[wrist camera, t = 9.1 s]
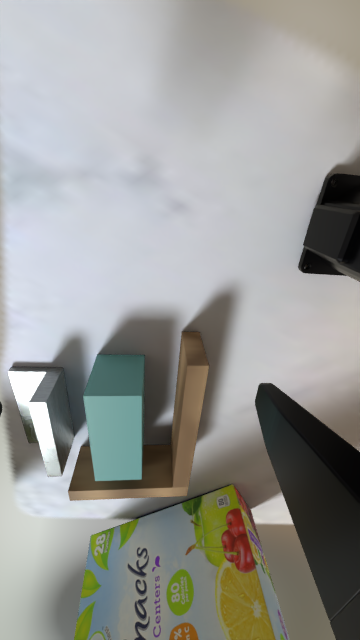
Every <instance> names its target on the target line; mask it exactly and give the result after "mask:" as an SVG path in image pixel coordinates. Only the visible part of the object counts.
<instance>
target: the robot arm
mask: <svg viewBox="0 0 360 640" xmlns="http://www.w3.org/2000/svg"><path fill="white" fill-rule="evenodd" d="M333 179H335V183H334V185H333V186H331V181H332V180H333ZM303 245H304V249H303V252H302V255H301V259H300V262H299V266H298V268H299V270H300V271H302V272H303V273H310V274H327V275H344V276H349V277H351V278H353V279H355V280H357V281H359V282H360V176H357V175H348V174H338V173H337V174H330V175H328V176H327V177H326V179H325V181H324V183H323V187H322V190H321V193H320V196H319V200H318V203H317V206H316V207H315V208H314V211H313V214H312V217H311V220H310V224H309V227H308V230H307V234H306V237H305V240H304V244H303ZM307 263H308V266H307V267H306V268H304V266H305V265H306V264H307ZM255 406H256V410H257V414H258V418H259V422H260V426H261V430H262V434H263V438H264V442H265V446H266V449H267V452H268V455H269V458H270V460H271V463H272V466H273V468H274V471H275V474H276V477H277V479H278V482H279V485H280V488H281V490H282V493H283V496H284V498H285V501H286V504H287V507H288V509H289V512H290V515H291V517H292V520H293V523H294V526H295V528H296V531H297V534H298V537H299V539H300V542H301V545H302V547H303V550H304V553H305V556H306V558H307V561H308V564H309V567H310V569H311V572H312V575H313V577H314V580H315V583H316V586H317V588H318V591H319V594H320V597H321V599H322V602H323V605H324V607H325V610H326V613H327V616H328V618H329V620H330V621H331V622H330V624H331V627H332V630H333V632H334V635H335V638H336V640H360V452H359V451H358V450H357V449H355V448H354V447H353V446H352V445H350V444H349V443H348V442H346V441H345V440H344V439H343V438H341V437H340V436H339V435H337V434H336V433H335V432H334V431H332V430H331V429H330V428H329V427H327V426H326V425H325V424H323V423H322V422H321V421H320V420H318V419H317V418H316V417H314V416H313V415H312V414H311V413H309V412H308V411H307V410H305V409H304V408H303V407H302V406H300V405H299V404H298V403H297V402H295V401H294V400H293V399H291V398H290V397H289V396H288V395H286V394H285V393H284V392H282V391H281V390H280V389H279V388H277V387H276V386H275V385H273V384H272V383H261V384H260V385H259V387H258V391H257V395H256V399H255ZM1 413H2V404H1V402H0V415H1Z"/></svg>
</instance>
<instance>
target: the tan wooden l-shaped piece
mask: <svg viewBox="0 0 360 640" xmlns="http://www.w3.org/2000/svg"><path fill="white" fill-rule="evenodd" d="M208 370H209V364H208V360H207V357H206V353H205V350H204V346H203V343H202V339H201V336H200V332H182V335H181V345H180V355H179V365H178V375H177V385H176V395H175V405H174V414H173V424H172V434H171V444H170V445H143V463H142V479H139V480H113V481H95V476H94V469H93V462H92V455H91V448H90V446H81V448H80V451H79V455H78V458H77V462H76V465H75V469H74V473H73V476H72V480H71V483H70V487H69V490H68V493H69V498H70V501H73V500H97V499H122V498H147V497H172V496H187V492H188V487H189V481H190V475H191V469H192V463H193V457H194V451H195V446H196V440H197V434H198V428H199V422H200V416H201V411H202V405H203V399H204V393H205V387H206V381H207V376H208Z"/></svg>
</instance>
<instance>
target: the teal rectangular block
mask: <svg viewBox="0 0 360 640" xmlns="http://www.w3.org/2000/svg"><path fill="white" fill-rule="evenodd" d="M144 377H145V355H100V354H97V357H96V360H95V363H94V366H93V369H92V372H91V375H90V377H89V380H88V383H87V386H86V389H85V392H84V395H83V399H84V406H85V413H86V420H87V427H88V434H89V441H90V448H91V455H92V462H93V469H94V476H95V481H113V480H139V479H142V463H143V443H144Z"/></svg>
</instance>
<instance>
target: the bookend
mask: <svg viewBox="0 0 360 640" xmlns="http://www.w3.org/2000/svg"><path fill="white" fill-rule="evenodd" d="M8 374H9V378H10V381H11V385H12V388H13V391H14V395H15V398H16V402H17V405H18V408H19V412H20V415H21V419H22V422H23V425H24V429H25V432H26V436H27V439H28V442H29V443H39V445H40V449H41V453H42V457H43V460H44V464H45V468H46V472H47V475H48V477H54V476H62V475H63V471H64V468H65V465H66V462H67V459H68V456H69V453H70V449H71V446H72V443H73V440H74V431H73V425H72V419H71V413H70V407H69V401H68V395H67V389H66V383H65V377H64V370H63V368H40V367H11V368H10V369H9V371H8Z"/></svg>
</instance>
